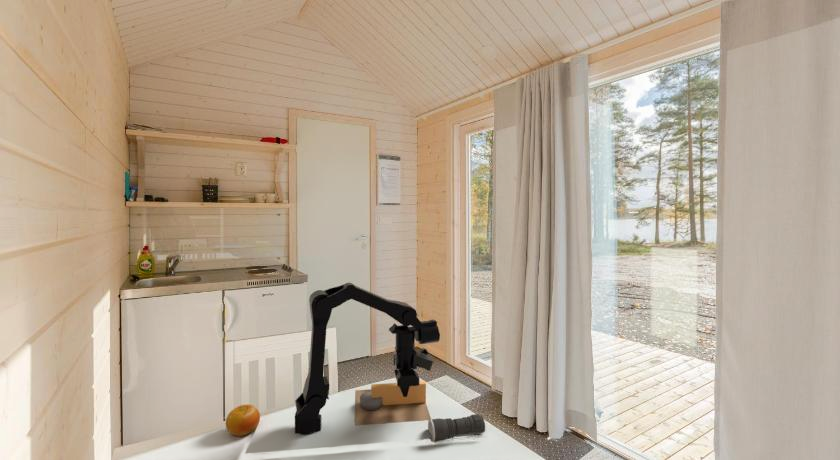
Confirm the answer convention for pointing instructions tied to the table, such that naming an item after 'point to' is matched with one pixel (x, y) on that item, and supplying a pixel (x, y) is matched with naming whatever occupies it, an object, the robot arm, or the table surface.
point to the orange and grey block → (391, 395)
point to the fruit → (242, 420)
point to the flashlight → (455, 427)
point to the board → (389, 412)
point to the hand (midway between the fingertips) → (405, 396)
